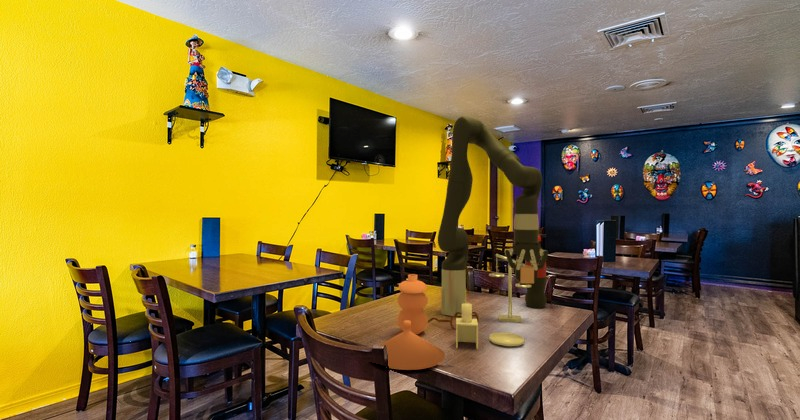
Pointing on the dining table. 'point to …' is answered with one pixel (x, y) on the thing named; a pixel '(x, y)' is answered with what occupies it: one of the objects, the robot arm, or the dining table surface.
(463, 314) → the hood
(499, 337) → the dish
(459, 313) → the glasses
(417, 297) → the ceramic vessels
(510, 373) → the dining table surface
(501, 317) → the balance
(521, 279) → the block
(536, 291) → the cola bottle
